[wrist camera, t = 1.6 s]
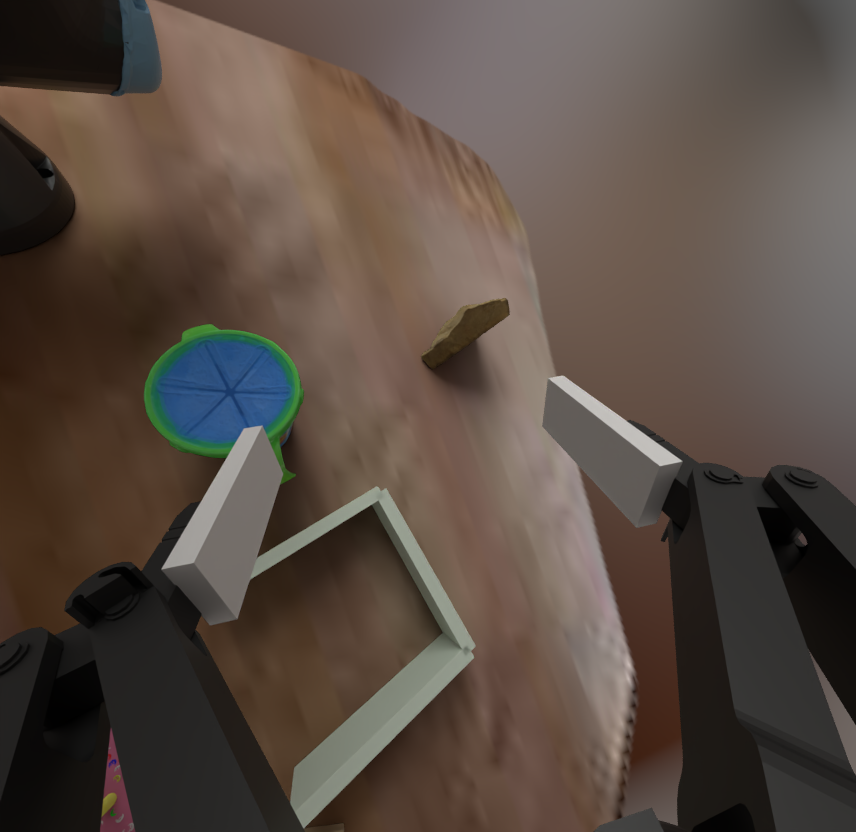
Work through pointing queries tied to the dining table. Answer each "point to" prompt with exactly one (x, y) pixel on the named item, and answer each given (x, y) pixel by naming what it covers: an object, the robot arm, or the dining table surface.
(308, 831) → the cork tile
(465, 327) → the rock
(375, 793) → the dining table surface
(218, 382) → the snack cup
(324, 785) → the tray
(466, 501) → the dining table surface
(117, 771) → the cupcake
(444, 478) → the dining table surface
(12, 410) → the dining table surface
